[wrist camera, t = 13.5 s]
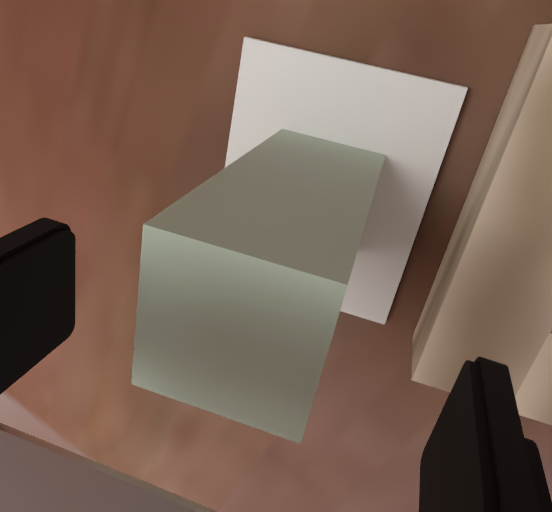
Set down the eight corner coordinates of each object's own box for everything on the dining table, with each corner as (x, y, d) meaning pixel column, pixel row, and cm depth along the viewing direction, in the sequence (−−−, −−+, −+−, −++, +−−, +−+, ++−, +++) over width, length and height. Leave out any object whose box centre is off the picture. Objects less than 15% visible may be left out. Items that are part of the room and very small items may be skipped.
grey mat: (466, 86, 19) (468, 88, 19) (385, 318, 24) (384, 324, 24) (248, 36, 21) (244, 36, 20) (214, 265, 26) (209, 270, 25)
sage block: (385, 155, 20) (347, 285, 10) (357, 250, 22) (300, 444, 12) (282, 128, 21) (143, 224, 11) (263, 223, 23) (131, 383, 13)
